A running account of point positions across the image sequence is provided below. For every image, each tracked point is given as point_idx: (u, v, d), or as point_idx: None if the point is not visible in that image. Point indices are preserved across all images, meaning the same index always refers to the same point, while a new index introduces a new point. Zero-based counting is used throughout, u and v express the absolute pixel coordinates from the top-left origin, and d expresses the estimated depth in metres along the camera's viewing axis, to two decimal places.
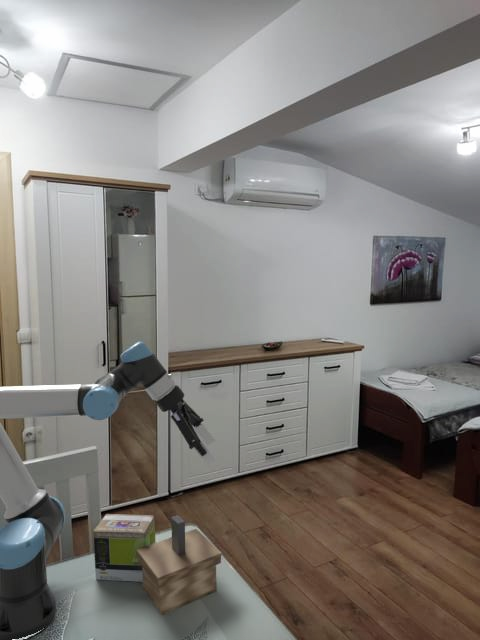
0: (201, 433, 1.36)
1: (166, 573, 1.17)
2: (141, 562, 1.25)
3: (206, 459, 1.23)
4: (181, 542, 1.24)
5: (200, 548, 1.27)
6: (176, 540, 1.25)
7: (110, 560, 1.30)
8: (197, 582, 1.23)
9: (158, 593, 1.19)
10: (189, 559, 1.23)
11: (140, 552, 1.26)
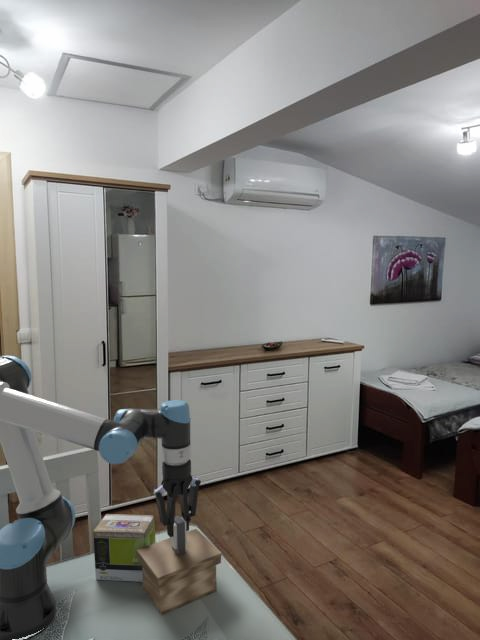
0: None
1: (166, 573, 1.17)
2: (141, 562, 1.25)
3: (171, 539, 1.25)
4: (181, 542, 1.24)
5: (200, 548, 1.27)
6: None
7: (110, 560, 1.30)
8: (197, 582, 1.23)
9: (158, 593, 1.19)
10: (189, 559, 1.23)
11: (140, 552, 1.26)
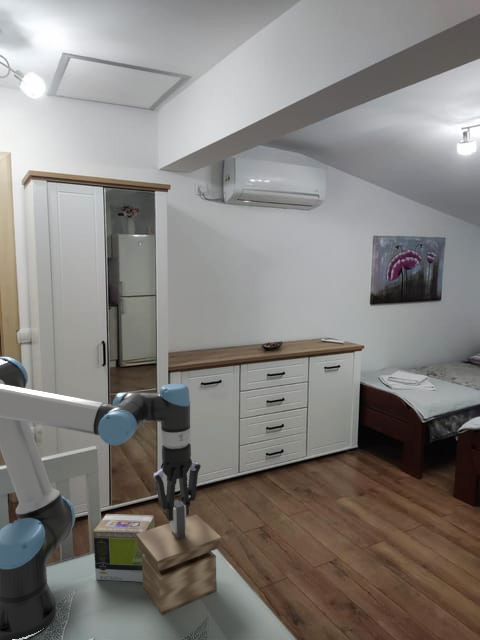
0: None
1: (166, 556, 1.17)
2: (140, 546, 1.24)
3: (171, 523, 1.25)
4: (181, 526, 1.24)
5: (200, 533, 1.27)
6: None
7: (110, 560, 1.30)
8: (197, 582, 1.23)
9: (158, 593, 1.19)
10: (189, 543, 1.22)
11: (139, 536, 1.25)
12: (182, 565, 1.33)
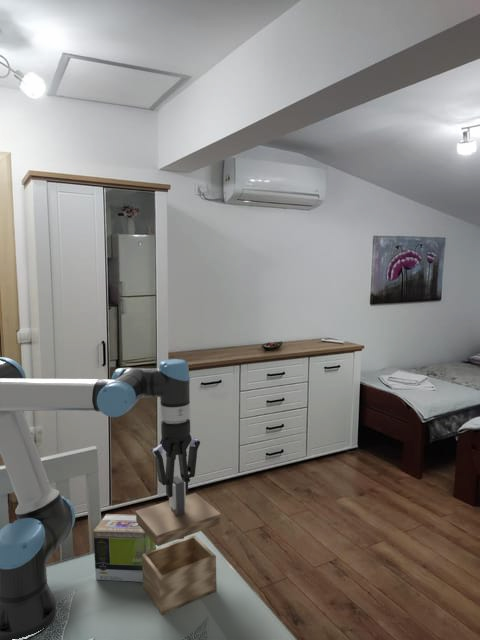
0: None
1: (165, 531, 1.16)
2: (140, 523, 1.23)
3: (170, 500, 1.24)
4: (181, 502, 1.23)
5: (199, 509, 1.26)
6: None
7: (110, 560, 1.30)
8: (197, 582, 1.23)
9: (158, 593, 1.19)
10: (188, 519, 1.21)
11: (139, 513, 1.25)
12: (182, 565, 1.33)
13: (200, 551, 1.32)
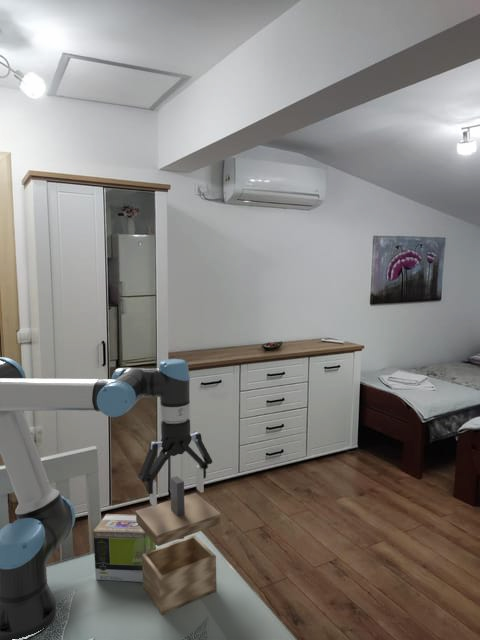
0: (197, 475, 1.28)
1: (165, 531, 1.16)
2: (140, 523, 1.23)
3: (150, 497, 1.21)
4: (181, 502, 1.23)
5: (199, 509, 1.26)
6: (175, 500, 1.23)
7: (110, 560, 1.30)
8: (197, 582, 1.23)
9: (158, 593, 1.19)
10: (188, 519, 1.21)
11: (139, 513, 1.25)
12: (182, 565, 1.33)
13: (200, 551, 1.32)
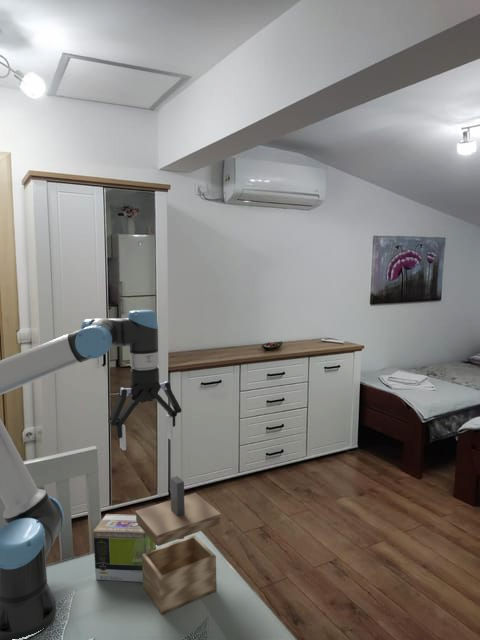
0: (167, 423, 1.33)
1: (165, 531, 1.16)
2: (140, 523, 1.23)
3: (120, 442, 1.26)
4: (181, 502, 1.23)
5: (199, 509, 1.26)
6: (175, 500, 1.23)
7: (110, 560, 1.30)
8: (197, 582, 1.23)
9: (158, 593, 1.19)
10: (188, 519, 1.21)
11: (139, 513, 1.25)
12: (182, 565, 1.33)
13: (200, 551, 1.32)
